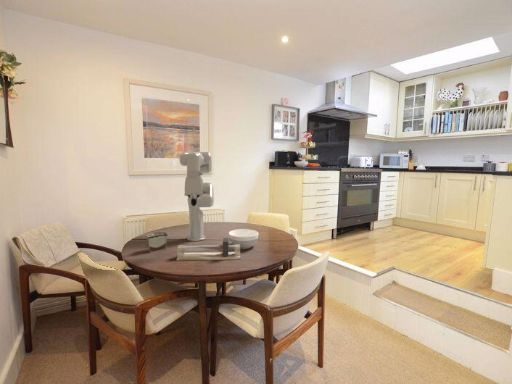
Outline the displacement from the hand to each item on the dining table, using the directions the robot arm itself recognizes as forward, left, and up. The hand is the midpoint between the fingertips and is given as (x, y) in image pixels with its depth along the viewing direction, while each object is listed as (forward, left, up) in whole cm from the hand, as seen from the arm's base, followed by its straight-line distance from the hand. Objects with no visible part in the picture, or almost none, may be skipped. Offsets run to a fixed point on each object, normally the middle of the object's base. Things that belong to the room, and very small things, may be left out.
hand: (193, 205), depth 147 cm
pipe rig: (+12, +10, -27) cm, 31 cm away
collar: (+12, +19, -26) cm, 34 cm away
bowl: (-6, +30, -27) cm, 41 cm away
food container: (-2, -23, -27) cm, 36 cm away
